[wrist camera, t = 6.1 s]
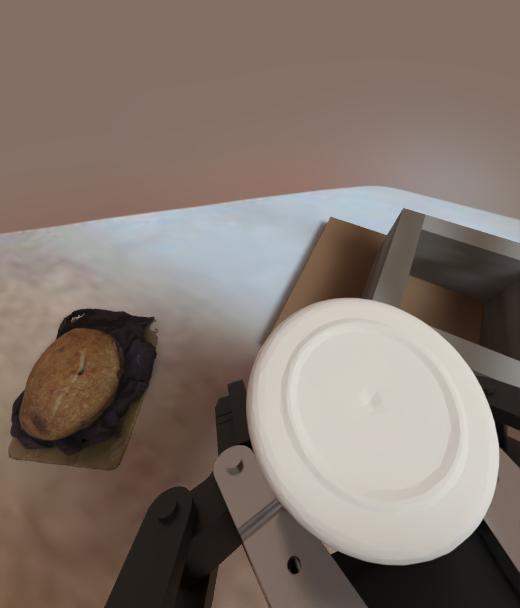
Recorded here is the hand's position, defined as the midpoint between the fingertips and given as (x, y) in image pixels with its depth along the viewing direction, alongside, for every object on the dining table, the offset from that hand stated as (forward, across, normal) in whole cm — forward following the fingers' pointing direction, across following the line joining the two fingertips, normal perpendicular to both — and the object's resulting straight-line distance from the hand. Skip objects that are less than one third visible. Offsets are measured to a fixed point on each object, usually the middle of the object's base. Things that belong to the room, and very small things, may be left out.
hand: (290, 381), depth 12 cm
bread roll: (+9, +12, +1) cm, 15 cm away
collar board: (+5, -12, +3) cm, 14 cm away
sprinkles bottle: (+3, 0, +6) cm, 6 cm away
